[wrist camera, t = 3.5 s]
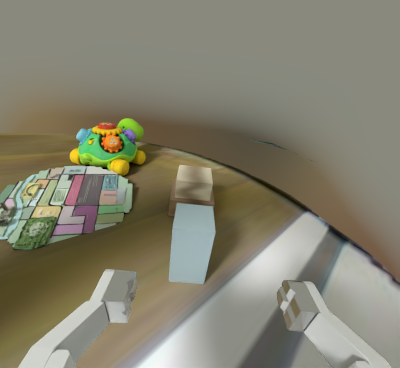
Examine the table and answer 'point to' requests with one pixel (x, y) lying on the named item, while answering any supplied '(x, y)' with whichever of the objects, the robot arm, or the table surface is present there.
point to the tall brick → (191, 243)
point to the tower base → (192, 188)
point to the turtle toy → (110, 146)
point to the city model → (62, 205)
